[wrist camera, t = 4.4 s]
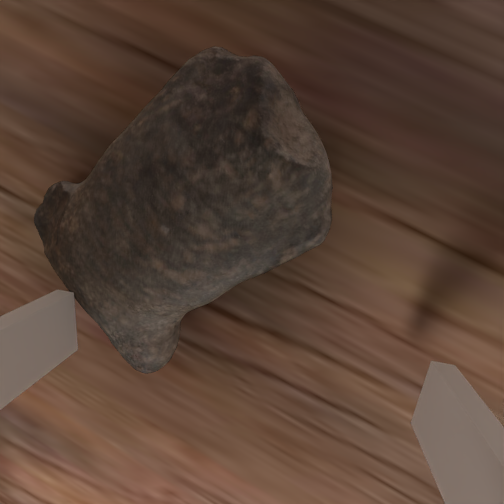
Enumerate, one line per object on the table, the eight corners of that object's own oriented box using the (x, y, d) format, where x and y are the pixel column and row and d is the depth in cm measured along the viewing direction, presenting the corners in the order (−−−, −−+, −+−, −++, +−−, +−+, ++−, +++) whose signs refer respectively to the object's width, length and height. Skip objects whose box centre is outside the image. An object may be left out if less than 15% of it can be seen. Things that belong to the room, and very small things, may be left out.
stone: (347, 259, 14) (265, 52, 12) (391, 308, 10) (267, -26, 7) (143, 343, 16) (36, 179, 14) (92, 420, 11) (-90, 189, 9)
